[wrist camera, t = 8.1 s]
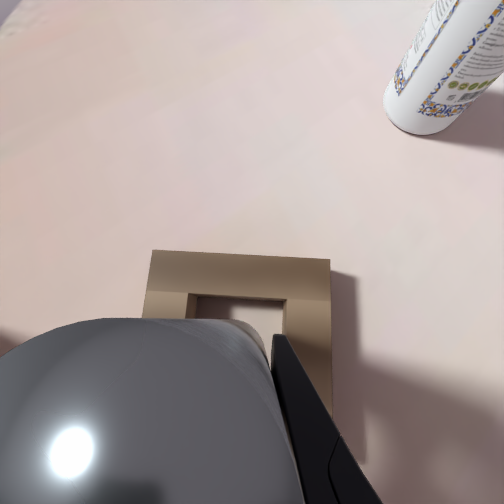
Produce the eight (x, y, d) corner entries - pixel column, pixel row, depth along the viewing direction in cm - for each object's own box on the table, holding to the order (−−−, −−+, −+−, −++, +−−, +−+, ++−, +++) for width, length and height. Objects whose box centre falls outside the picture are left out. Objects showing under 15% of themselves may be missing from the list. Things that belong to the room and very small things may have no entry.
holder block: (321, 446, 18) (333, 471, 15) (141, 433, 19) (119, 454, 16) (320, 267, 21) (330, 259, 19) (166, 258, 22) (152, 249, 19)
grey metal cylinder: (263, 395, 14) (308, 938, 2) (192, 390, 14) (-235, 859, 2) (266, 321, 15) (309, 329, 3) (200, 317, 15) (-46, 306, 3)
